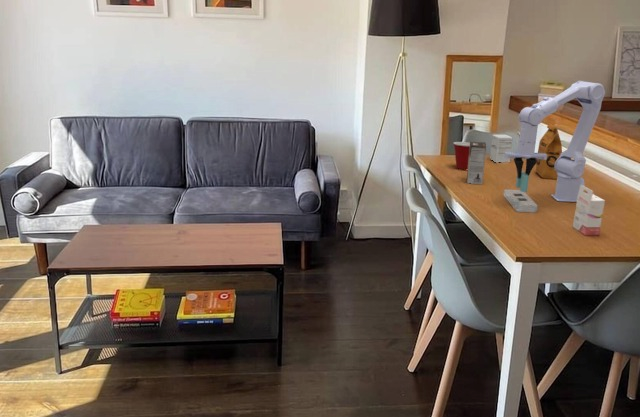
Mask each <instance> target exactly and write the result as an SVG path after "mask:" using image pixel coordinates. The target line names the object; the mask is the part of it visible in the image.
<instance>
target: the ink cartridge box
mask: <svg viewBox="0 0 640 417" xmlns="http://www.w3.org/2000/svg"><path fill="white" fill-rule="evenodd" d="M586 192H587V193H586ZM605 202H606V200H605V199H603V198H601V197H599V196H597V195H595V194H594V190H592V189H590V188H589V187H586V185H585V186H583V185H580V189H579V193H578V197H577V202H576V205H575V212H574V217H573V222H572V227H573V228H574V229H575V230H577V231H578V232H580V233H581V234H583V235H584V236H600V232H601V225H602V220H603V214H604V210H605V209H604V208H605Z"/></svg>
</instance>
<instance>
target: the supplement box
mask: <svg viewBox="0 0 640 417" xmlns="http://www.w3.org/2000/svg"><path fill="white" fill-rule="evenodd" d="M491 136H492V137H491V145H490V146H491V147H490V155H489V160H490V159H491V160H493V161H494V162H510V163H511V158H508V159H506V158H505V157H504V156H505V152H512V146H513V139H514V138H513V137H512V136H510V135H508V134H492V135H491ZM491 160H490V161H491ZM493 161H492V162H493ZM494 162H493V163H494Z"/></svg>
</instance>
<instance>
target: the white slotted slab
mask: <svg viewBox="0 0 640 417" xmlns="http://www.w3.org/2000/svg"><path fill="white" fill-rule="evenodd" d="M503 197H504V198H505V199H506V200H507V202H508V203H509V204H510V206H512V208H513V209H514V211H516V212H518V213H538V209H539V208H538V206H539V205H538V204H537V203H536V202H535V201H534V200H533V199H532V198H531V197H530V196H529V195H528V194H527V192H521V191H520V189H503Z"/></svg>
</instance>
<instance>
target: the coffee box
mask: <svg viewBox="0 0 640 417" xmlns="http://www.w3.org/2000/svg"><path fill="white" fill-rule="evenodd" d="M469 143H470V149H469V159H468V170H466V171H467V173H466V184H468V183H471V185H481V184H482V185H483V181H484V171H485V163H486V162H485V161H486V151H487V144H486V142H485V141H484V142H480V141H470V142H469Z"/></svg>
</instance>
